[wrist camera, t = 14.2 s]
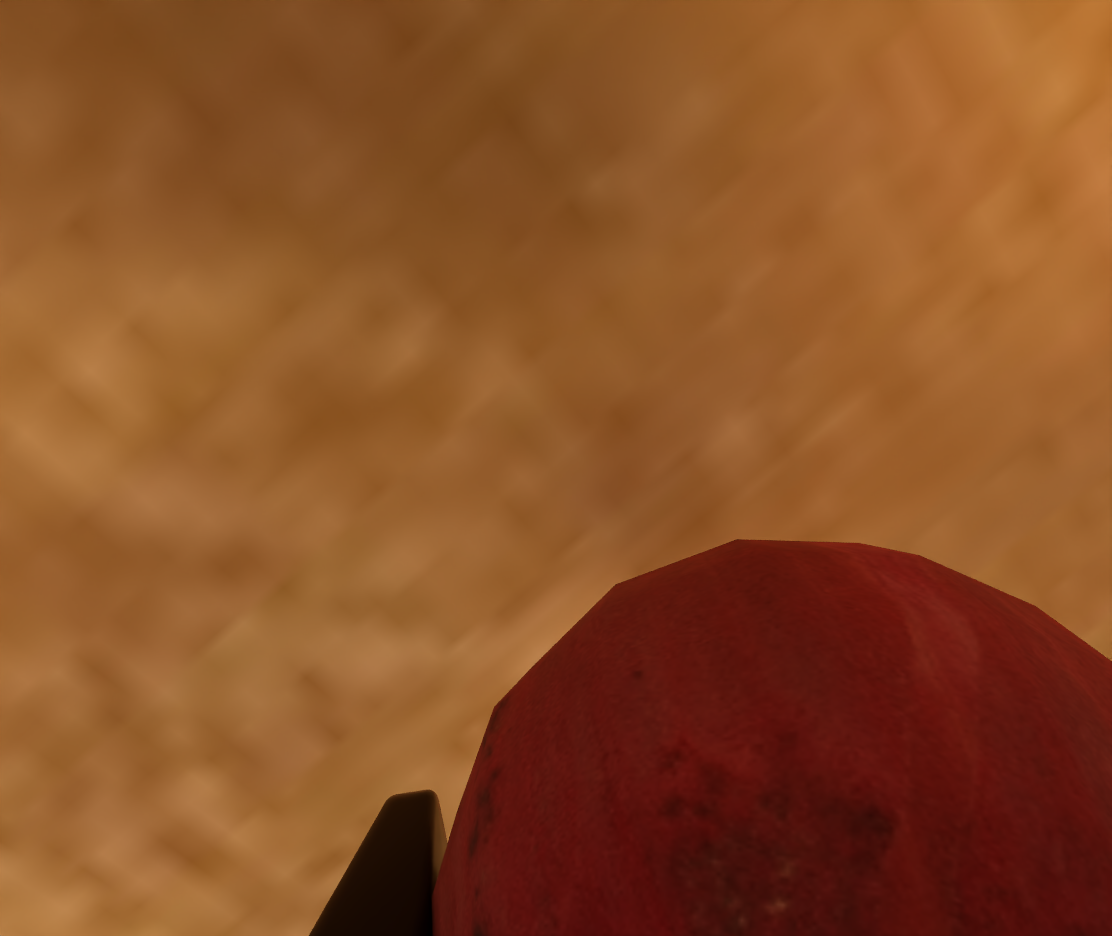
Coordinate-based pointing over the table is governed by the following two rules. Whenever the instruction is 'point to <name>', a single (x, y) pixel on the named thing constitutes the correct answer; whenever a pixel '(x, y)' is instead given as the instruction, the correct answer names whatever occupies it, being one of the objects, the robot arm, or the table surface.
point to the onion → (793, 761)
